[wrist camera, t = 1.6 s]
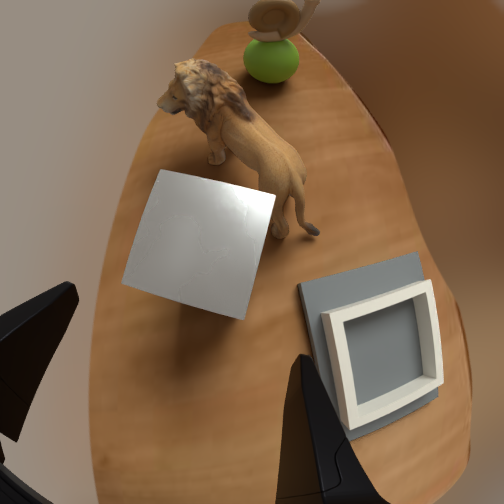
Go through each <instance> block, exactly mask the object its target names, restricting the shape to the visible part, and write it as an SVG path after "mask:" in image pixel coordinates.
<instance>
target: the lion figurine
mask: <svg viewBox="0 0 504 504" xmlns="http://www.w3.org/2000/svg"><path fill="white" fill-rule="evenodd" d="M174 65H175V68H176V69H175V78H174V79H173V80H172V81H171V82H170V83H169V89H168V90H167V92H165V93H164V95H163V96H162V97H160V98H159V99H158V101H157V106H158V107H159V108H162V109H163V111H165V112H167V113H170V114H172V115H175V114H177V113H179V112H181V111H183V110H185V114H186V115H187V117H189V118H192V119H194V120H195V123H196V125H197V126H198V127H199V128H200V129H201V130H202V131H203V132H204V133H205V134H206V135H207V139H208V143H209V146H210V148H211V150H212V151H213V153H210V155H209V157H208V160H209V164H212V165H220V164H221V163H223V162H224V161H225V158H226V157H225V151H224V149H225V147H226V145H227V146H228V148H229V149H230V150H231V151H232V152H233V153H234V154H235V155H236V156H237V157H238V158H239V159H240V160H241V161H242V162H243V163H244V164H246V165H247V166H248V167H250V168H251V169H253V170H256V171H257V172H258V174H259V191H261V192H265V193H269V194H272V195H276V197H275V201H274V205H273V209H272V213H271V218H272V220H273V221H274V223H273V224H272V227H271V233H272V235H273V236H274V237H276V238H278V239H280V238H284V237H285V236H287V235H288V233H289V225H288V223H287V221H286V219H285V218H284V216H283V210H282V207H283V204H284V203H285V201H286V199H287V197H288V196H291V197H293V198H294V199H295V211H296V216H297V221H298V223H299V225H300V226H301V227H302V228H304V229H305V230H306V231H307V232H308V234H310V235H313V236H318V235H319V234H320V231H319V230H318V229H317V228H315V227H314V226H313V225H312V224H311V223H307V222H305V219H304V208H305V199H304V187H303V185H304V183H305V181H306V177H307V172H306V168H305V166H304V163H303V162H302V160H301V158H300V156H299V154H298V152H297V151H296V150H295V148H294V147H293V146H291V145H290V144H289V143H287V142H286V141H285V140H283V139H282V138H281V137H280V136H278V135H277V133H276V132H275V131H274V130H273V129H272V128H271V127H270V126H269V125H268V124H267V123H266V122H265V121H264V120H263V119H262V118H261V117H260V116H259V115H258V114H257V113H256V112H255V111H254V110H253V109H252V108H251V107H250V105H249V103H248V101H247V100H246V94H245V92H244V91H243V88H242V87H241V86H239V84H237V81H236V80H234V79H233V78H232V77H231V76H229V75H228V74H227V72H225V71H223V70H221V69H220V68H218V67H217V65H216V64H212V63H210V62H208V61H206V60H195V59H194V58H192V59H189V60H187V61H185V62H180V63H175V64H174Z"/></svg>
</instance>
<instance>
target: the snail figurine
mask: <svg viewBox="0 0 504 504" xmlns="http://www.w3.org/2000/svg"><path fill="white" fill-rule="evenodd" d="M304 1H305V3H304V5H303V7H302V9H301V10H300V11H299V9H298V7H297V5H296V4H295V3H294V2H293V1H291V0H260V1H258V2H257V3H256V4H254V5H253V7H252V8H251V9H250V12H249V15H248V19H249V23H250V25H251V26H252V27H253V28H254V29H256V30H257V31H252V32H249V33H248V35H249V36H250V37H252V38H253V39H254V40H253V41H251V42H250V43H249V44H248V46H247V47H246V49H245V52H244V57H243V59H244V65H245V67H246V69H247V71H248V72H249V74H250V75H251V76H253V77H254V78H255V79H257V80H259V81H262V82H265V83H279V82H282V81H285V80H287V79H288V78H290V77H291V76H292V75H293V74H294V73H295V72H296V70H297V68H298V65H299V54H298V51H297V49H296V47H295V46H294V45H293V44H292V43H291V42H290V41H289V40H288V39H287V38H290V37H292V36H295V35H297V34H298V33H300V32H301V31H302V30H303V29H304V28H305V26H306V25H307V24H308V22H309V21H310V19H311V17H312V15H313V14H314V11H315V8H316V7H317V5H318V4H319V3H320V1H321V0H304Z"/></svg>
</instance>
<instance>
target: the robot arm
mask: <svg viewBox="0 0 504 504" xmlns="http://www.w3.org/2000/svg"><path fill="white" fill-rule="evenodd" d="M78 302H79V296H78V293H77V290H76V287H75V285H74V284H73V283H70V282H68V281H66V282H63V283H61V284H59V285H57V286H56V287H53V288H51V289H49V290H48V291H45V292H43V293H42V294H40V295H38V296H36V297H34V298H32V299H30V300H28V301H26V302H24V303H22V304H21V305H19V306H17V307H15V308H13V309H11V310H9V311H8V312H6V313H4V314H2V315H1V316H0V433H2V434H3V435H5V436H6V437H8V438H10V439H11V440H13V441H15V442H17V441H18V439H19V436H20V432H21V430H22V427H23V424H24V421H25V419H26V416H27V413H28V411H29V408H30V406H31V403H32V401H33V398H34V396H35V393H36V391H37V389H38V386H39V384H40V382H41V380H42V378H43V376H44V373H45V371H46V369H47V367H48V365H49V363H50V361H51V359H52V357H53V355H54V353H55V351H56V349H57V347H58V345H59V343H60V342H61V340H62V338H63V336H64V334H65V332H66V330H67V328H68V325H69V323H70V321H71V318H72V316H73V314H74V312H75V310H76V307H77V305H78ZM4 460H5V457H4V453H3V450H2V446H1V442H0V504H53V503H52V502H50V501H49V500H47V499H46V498H44V497H43V496H41V495H40V494H39V493H37V492H36V491H35V490H33V489H32V488H30V487H29V486H28V485H27V484H25V483H24V482H23V481H22V480H20V479H19V478H18V477H17V476H16V475H14V474H13V473H12V472H11V471H9V470H8V469H7V468H6V467H5V466H4V465H3V463H4ZM275 504H390V503H389V502H387V501H386V500H385V499H383V498H382V497H381V496H380V495H379V494H378V492H377V491H376V489H375V488H374V486H373V485H372V483H371V481H370V480H369V478H368V476H367V475H366V473H365V471H364V470H363V468H362V466H361V464H360V463H359V461H358V459H357V457H356V455H355V453H354V451H353V449H352V447H351V445H350V442H349V440H348V438H347V437H346V433H345V431H344V429H343V427H342V424H341V422H340V420H339V418H338V415H337V413H336V411H335V409H334V406H333V404H332V402H331V400H330V397H329V395H328V393H327V391H326V388H325V386H324V384H323V382H322V379H321V377H320V375H319V373H318V370H317V368H316V366H315V364H314V362H313V359H312V357H311V356H310V355H305V354H299V355H298V357H297V358H296V360H295V362H294V363H293V365H292V367H291V371H290V376H289V382H288V387H287V393H286V398H285V404H284V412H283V427H282V440H281V452H280V463H279V474H278V483H277V493H276V501H275Z"/></svg>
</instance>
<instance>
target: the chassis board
mask: <svg viewBox="0 0 504 504" xmlns="http://www.w3.org/2000/svg"><path fill="white" fill-rule="evenodd" d="M298 288H299V292H300V297H301V301H302V305H303V310H304V314H305V319H306V323H307V328H308V332H309V337H310V342H311V347H312V351H313V356H314V361H315V366H316V368H317V370H318V373H319V375H320V377H321V379H322V382H323V384H324V386H325V388H326V391H327V393H328V395H329V397H330V400H331V402H332V404H333V406H334V409H335V411H336V413H337V415H338V418H339V420H340V422H341V424H342V427H343V429H344V431H345V433H346V437H347V438H348V440H349V441H351V440H354V439H356V438H359V437H361V436H364V435H366V434H368V433H371V432H373V431H375V430H377V429H379V428H382V427H384V426H386V425H388V424H390V423H392V422H394V421H396V420H398V419H400V418H402V417H404V416H406V415H408V414H409V413H411V412H413V411H415V410H417V409H418V408H420V407H422V406H424V405H425V404H427V403H429V402H430V401H432V400H434V399H435V398H437V397H438V386H440V385H441V384H443V383H444V382H443V362H442V350H441V340H440V331H439V324H438V317H437V310H436V304H435V299H434V293H433V288H432V283H431V279H429V280H424V276H423V271H422V267H421V263H420V259H419V255H418V251H417V252H413V253H410V254H407V255H403V256H400V257H396V258H393V259H389V260H386V261H382V262H379V263H375V264H372V265H368V266H364V267H361V268H357V269H353V270H350V271H346V272H342V273H338V274H334V275H330V276H327V277H323V278H319V279H315V280H311V281H307V282H302V283H299V284H298Z"/></svg>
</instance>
